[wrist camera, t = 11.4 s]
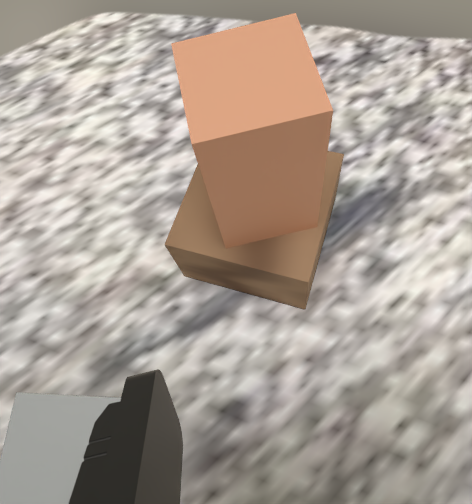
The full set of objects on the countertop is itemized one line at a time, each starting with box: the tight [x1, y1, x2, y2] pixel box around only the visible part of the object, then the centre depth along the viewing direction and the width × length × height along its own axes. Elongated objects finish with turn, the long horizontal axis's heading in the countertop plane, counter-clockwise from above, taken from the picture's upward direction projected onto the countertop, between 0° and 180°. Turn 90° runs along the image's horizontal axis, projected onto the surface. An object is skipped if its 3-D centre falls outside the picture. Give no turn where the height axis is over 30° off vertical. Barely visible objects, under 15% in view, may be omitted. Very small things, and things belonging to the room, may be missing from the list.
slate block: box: [0, 392, 121, 504], centre depth 21 cm, size 5×5×7 cm
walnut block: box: [165, 151, 344, 309], centre depth 27 cm, size 8×8×5 cm
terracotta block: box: [171, 13, 333, 248], centre depth 20 cm, size 5×5×9 cm
